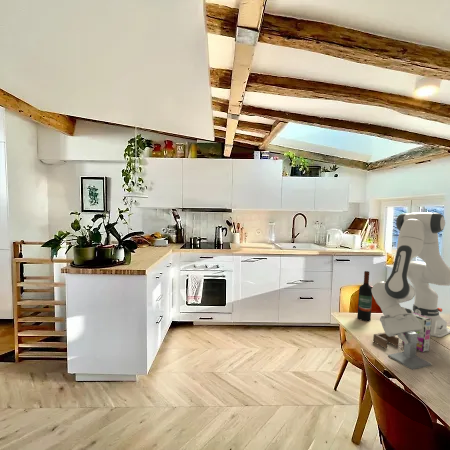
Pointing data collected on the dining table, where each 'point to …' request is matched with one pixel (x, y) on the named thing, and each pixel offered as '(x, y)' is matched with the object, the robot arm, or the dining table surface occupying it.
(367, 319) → the wine bottle
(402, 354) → the coaster
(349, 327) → the dining table surface
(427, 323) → the candy bar box
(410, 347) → the gray rectangular block
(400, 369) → the dining table surface
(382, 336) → the holder
